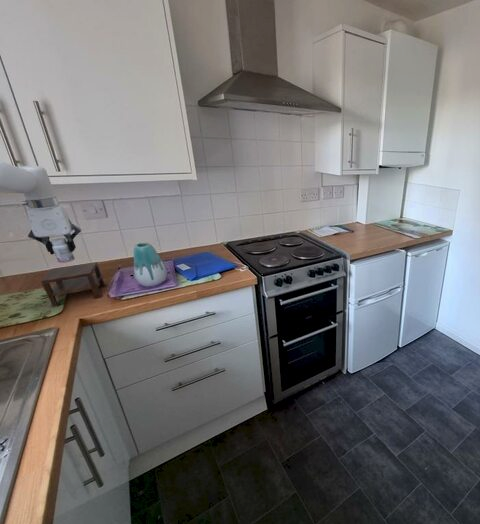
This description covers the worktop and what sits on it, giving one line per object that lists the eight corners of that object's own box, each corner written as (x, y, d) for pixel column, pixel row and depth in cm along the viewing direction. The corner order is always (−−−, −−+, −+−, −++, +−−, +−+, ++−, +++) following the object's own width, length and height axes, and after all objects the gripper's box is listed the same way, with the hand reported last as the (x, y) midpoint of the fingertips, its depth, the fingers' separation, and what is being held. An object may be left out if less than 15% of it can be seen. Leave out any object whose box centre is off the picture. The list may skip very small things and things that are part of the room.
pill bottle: (57, 261, 112) (48, 239, 109) (73, 257, 116) (65, 236, 112) (59, 264, 109) (50, 242, 106) (76, 260, 113) (68, 239, 109)
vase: (173, 283, 128) (162, 243, 121) (141, 292, 120) (128, 251, 113) (164, 274, 135) (154, 237, 128) (134, 283, 128) (122, 243, 121)
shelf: (52, 306, 110) (40, 280, 106) (62, 292, 120) (51, 268, 116) (99, 297, 117) (90, 272, 112) (105, 284, 126) (96, 261, 122)
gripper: (4, 208, 97) (28, 259, 104) (72, 202, 105) (89, 251, 112) (14, 203, 103) (36, 252, 110) (77, 199, 111) (94, 245, 118)
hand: (63, 251), depth 111 cm, fingers closed on pill bottle, 4 cm apart
